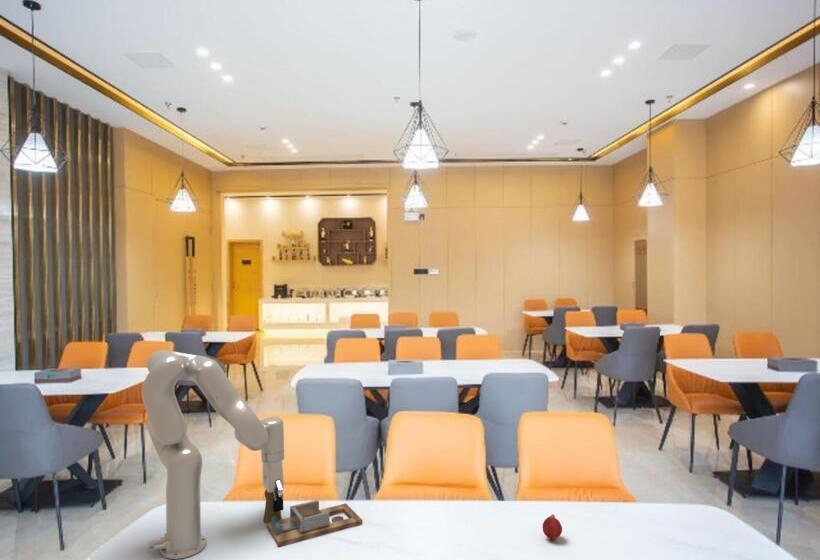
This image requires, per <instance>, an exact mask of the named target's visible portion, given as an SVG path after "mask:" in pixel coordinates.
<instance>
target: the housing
mask: <svg viewBox="0 0 820 560" xmlns="http://www.w3.org/2000/svg"><path fill="white" fill-rule="evenodd" d="M289 507H290V508H289V509H290V510H289V512H290V513H289V515H290V519H291V520H292V521H291V522H287V523H283V524H280V522H279V520H278V519H277V517H276V516H272V529H273V531H274V532H275V534H280V532H284V531H288V530H292V529H296V528H297V529H298V530H299V531H300V533H302V532H306V531H310V530H313V529H317V528H321V527H325V526H329V521H330V516H329V512H324V513H320V514H317V513H319V510H320V501H319V500H318V499H317V500H316V499H315V500H313V501H308V502H304V503H299V504H295V505H291V506H289ZM313 514H316V515H313ZM309 515H312V516H309ZM305 516H308V517H305ZM303 517H304V518H303Z"/></svg>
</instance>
